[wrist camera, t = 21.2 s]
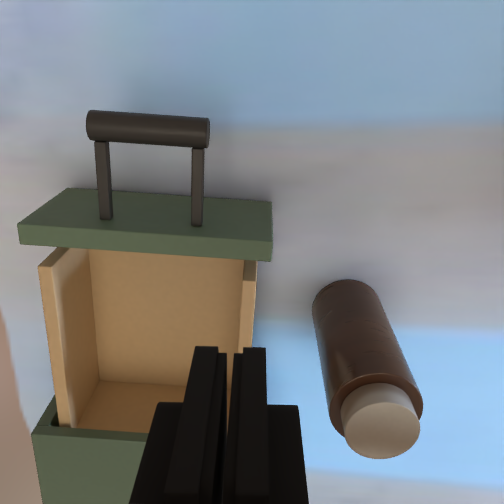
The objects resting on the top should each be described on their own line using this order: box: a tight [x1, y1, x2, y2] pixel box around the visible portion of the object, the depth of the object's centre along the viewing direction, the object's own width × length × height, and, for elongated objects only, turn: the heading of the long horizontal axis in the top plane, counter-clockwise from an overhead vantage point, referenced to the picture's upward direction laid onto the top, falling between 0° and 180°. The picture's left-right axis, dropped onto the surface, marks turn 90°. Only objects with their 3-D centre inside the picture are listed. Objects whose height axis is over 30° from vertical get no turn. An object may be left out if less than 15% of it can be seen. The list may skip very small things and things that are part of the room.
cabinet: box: [31, 395, 223, 504], centre depth 36 cm, size 17×15×9 cm
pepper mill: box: [312, 280, 423, 459], centre depth 29 cm, size 5×5×12 cm
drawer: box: [17, 110, 273, 433], centre depth 29 cm, size 21×13×7 cm, turn 176°
